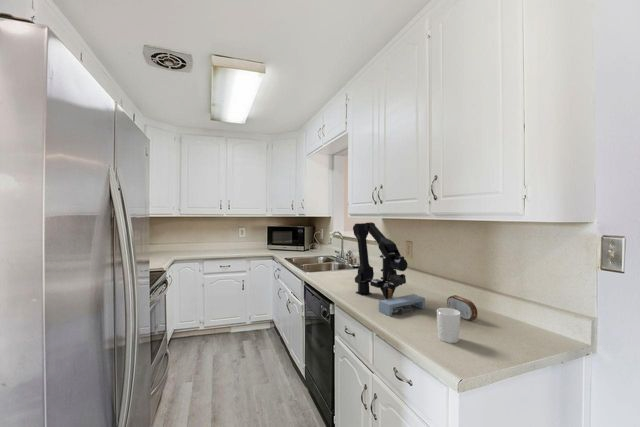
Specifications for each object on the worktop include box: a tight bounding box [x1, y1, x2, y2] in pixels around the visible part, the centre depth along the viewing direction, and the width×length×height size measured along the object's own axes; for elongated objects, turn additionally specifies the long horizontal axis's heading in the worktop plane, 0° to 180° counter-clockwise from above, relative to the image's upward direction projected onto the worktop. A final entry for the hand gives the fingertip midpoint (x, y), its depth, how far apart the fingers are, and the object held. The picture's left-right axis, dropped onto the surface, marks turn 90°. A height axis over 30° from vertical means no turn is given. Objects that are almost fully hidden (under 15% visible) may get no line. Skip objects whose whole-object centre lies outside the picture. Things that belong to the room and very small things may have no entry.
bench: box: [378, 293, 426, 317], centre depth 136 cm, size 7×22×5 cm, turn 119°
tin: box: [446, 295, 478, 321], centre depth 126 cm, size 15×3×8 cm, turn 18°
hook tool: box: [387, 289, 414, 316], centre depth 138 cm, size 16×7×7 cm, turn 31°
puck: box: [392, 307, 401, 314], centre depth 134 cm, size 4×4×2 cm
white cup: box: [436, 307, 461, 344], centre depth 104 cm, size 8×8×10 cm
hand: (388, 298), depth 145 cm, fingers closed on hook tool, 2 cm apart
